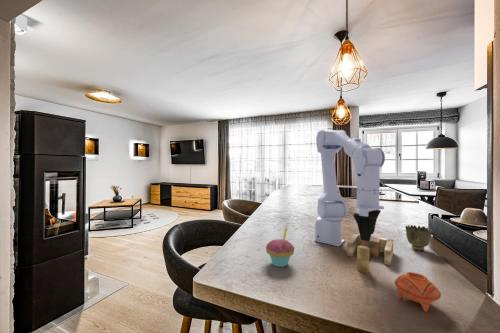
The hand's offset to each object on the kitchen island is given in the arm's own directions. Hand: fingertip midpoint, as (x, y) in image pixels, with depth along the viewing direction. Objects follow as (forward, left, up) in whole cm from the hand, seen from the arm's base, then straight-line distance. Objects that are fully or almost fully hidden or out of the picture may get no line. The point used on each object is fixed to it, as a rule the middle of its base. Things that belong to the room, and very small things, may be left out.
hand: (367, 236), depth 62 cm
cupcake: (-22, -12, -10) cm, 27 cm away
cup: (+12, +28, -10) cm, 32 cm away
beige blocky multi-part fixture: (-1, +13, -10) cm, 16 cm away
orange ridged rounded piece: (+11, -10, -10) cm, 18 cm away
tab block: (-1, +7, -9) cm, 12 cm away
